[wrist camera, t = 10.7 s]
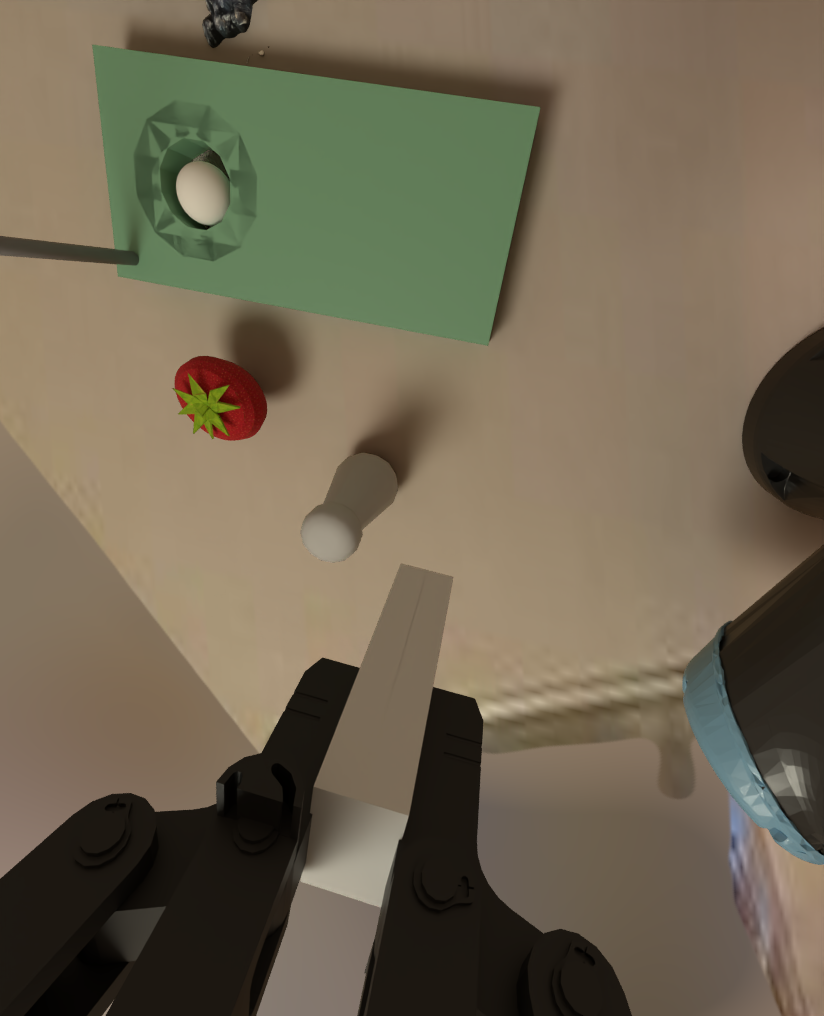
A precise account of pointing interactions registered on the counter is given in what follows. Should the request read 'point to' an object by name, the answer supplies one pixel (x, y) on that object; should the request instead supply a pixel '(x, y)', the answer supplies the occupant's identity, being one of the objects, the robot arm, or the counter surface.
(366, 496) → the salt shaker
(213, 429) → the strawberry
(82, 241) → the counter surface
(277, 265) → the board
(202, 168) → the white ball
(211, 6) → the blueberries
